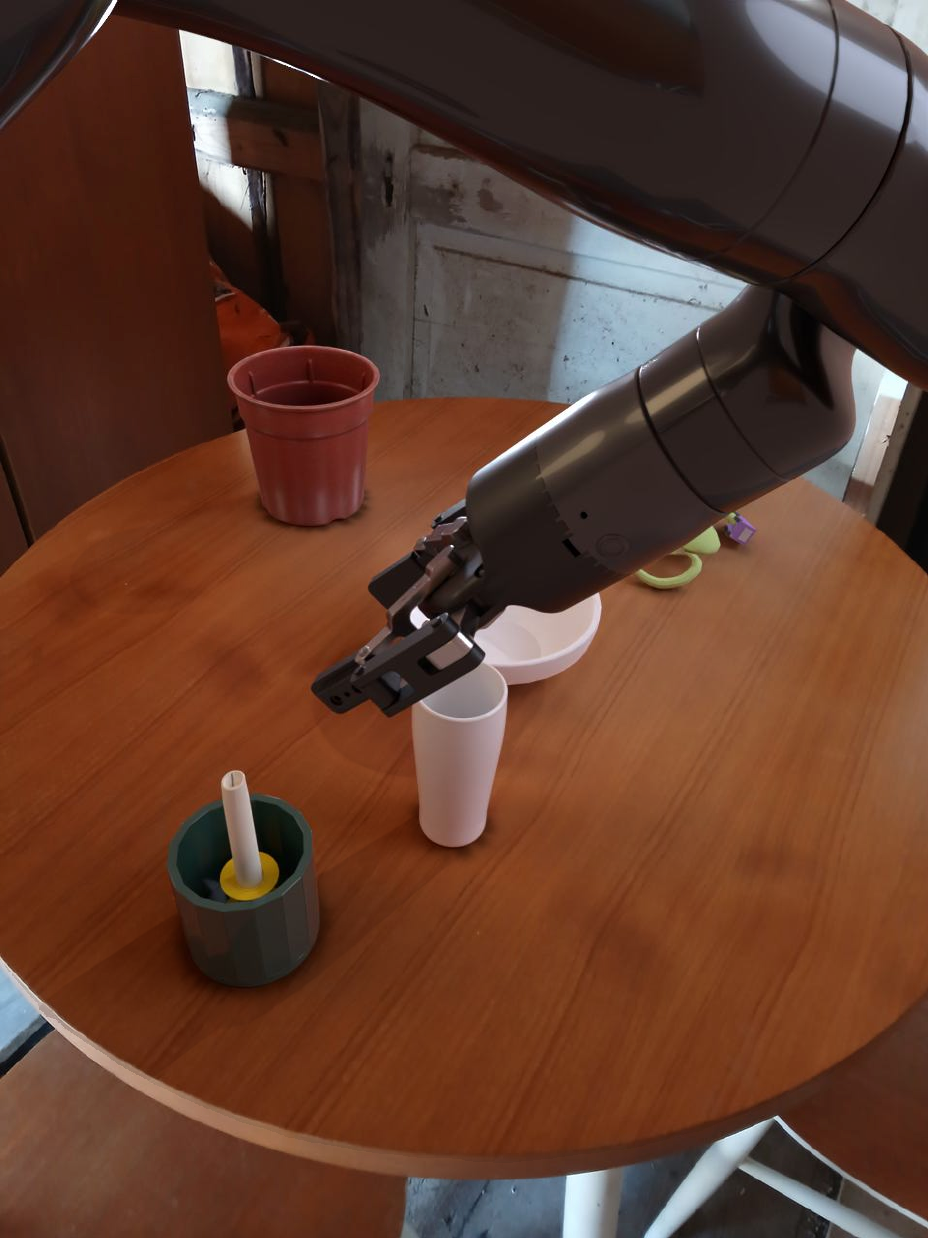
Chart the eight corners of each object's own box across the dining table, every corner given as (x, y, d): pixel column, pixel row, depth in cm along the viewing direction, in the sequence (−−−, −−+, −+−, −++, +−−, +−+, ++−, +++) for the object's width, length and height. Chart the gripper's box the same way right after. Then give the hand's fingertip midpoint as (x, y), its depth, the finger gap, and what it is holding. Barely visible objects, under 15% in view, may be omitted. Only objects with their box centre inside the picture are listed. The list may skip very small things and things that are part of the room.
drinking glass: (507, 808, 74) (523, 673, 64) (473, 871, 69) (485, 734, 59) (433, 779, 76) (438, 644, 66) (394, 838, 71) (394, 701, 61)
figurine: (651, 456, 122) (659, 418, 118) (785, 563, 103) (799, 521, 100) (532, 481, 115) (536, 442, 112) (652, 600, 97) (662, 557, 93)
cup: (213, 1012, 59) (194, 935, 54) (170, 905, 65) (149, 826, 60) (341, 949, 63) (335, 871, 58) (289, 853, 69) (280, 775, 64)
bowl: (453, 572, 99) (455, 517, 94) (620, 632, 92) (631, 575, 88) (352, 675, 85) (350, 616, 81) (540, 754, 79) (549, 695, 74)
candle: (234, 967, 61) (203, 820, 51) (209, 908, 64) (175, 759, 55) (306, 933, 63) (289, 786, 53) (278, 878, 67) (258, 730, 57)
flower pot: (222, 486, 111) (204, 360, 101) (342, 455, 118) (336, 335, 108) (278, 553, 100) (265, 420, 90) (406, 514, 108) (407, 387, 98)
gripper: (570, 362, 43) (350, 524, 52) (509, 515, 32) (244, 685, 41) (661, 478, 46) (436, 613, 55) (633, 655, 35) (358, 787, 44)
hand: (354, 644), depth 48 cm, fingers open, 8 cm apart
